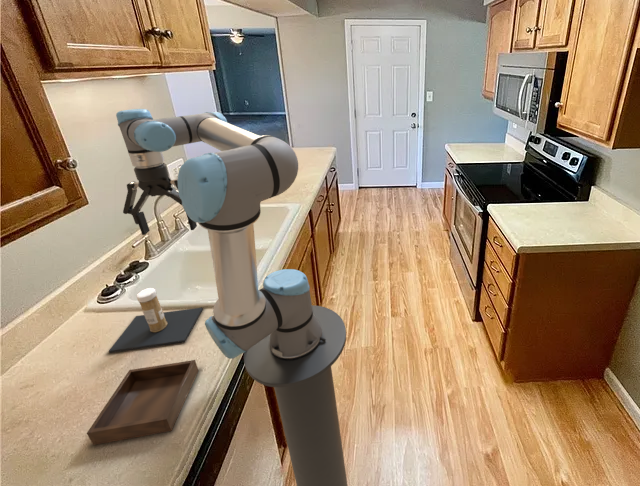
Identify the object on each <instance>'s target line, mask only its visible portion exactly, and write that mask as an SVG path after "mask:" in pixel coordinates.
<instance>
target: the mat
mask: <svg viewBox="0 0 640 486" xmlns="http://www.w3.org/2000/svg"><path fill="white" fill-rule="evenodd" d="M203 310H204V308H203V307H196V308H195V307H193V308H187V309H179V310H172V311H171V310H170V311H165V312H164V311H163V313H164V317H165V319H166V321H167V326H166V327H165V328H164V329H163V330H161V331H159V332H151V331H150V327H149V325H148V323H147V321H146V318H145V316H144V314H141V315H136V316H135V317H134V318H133V320H132V321H131V322H130V323H129V324H128V326H127V327H126V328H125V330H123V332H122V334H121V335H120V336H119V337H118V338H117V339H116V341H115V342H114V344H113V345H112V346H111V347H110V348H109V349H108V352H109V353H108V354H112V353H119V352H126V351H133V350H140V349H146V348H154V347H161V346H168V345H175V344H181V343H186V341H187V339H188V337H189V336H190V334H191V332H192V331H193V329H194V327H195V325H196V323H197V321H198V319H199V317H200V315H201V314H202V312H203Z"/></svg>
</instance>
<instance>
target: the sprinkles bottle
mask: <svg viewBox="0 0 640 486" xmlns="http://www.w3.org/2000/svg"><path fill="white" fill-rule="evenodd" d="M136 299H137V302H138V303H139V305H140V307H141V311H142V314H143V315H144V316H145V318H146V321H147V323H148V325H149V327H150V331H151V332H159V331H161V330H163V329H164V328H165V327H166V326H167V321H166V319H165V317H164V311H163V308H162V306H161V303H160V301H159V298H158V296H157V291H156V289H155V288H154V287H147V288H145V289H142V290H140V291H139V292H138V293H137V294H136Z"/></svg>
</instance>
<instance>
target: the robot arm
mask: <svg viewBox="0 0 640 486" xmlns="http://www.w3.org/2000/svg"><path fill="white" fill-rule="evenodd" d="M115 116H116V119H117V126H118V127H119V130H120V132H121V135H122V138H123V140H124V144H125V147H126V150H127V154H128V156H129V159H130V162H131V165H132V167H134V168H133V171H134V175H135V177H136V180H137V181H138V182H136V181H135V180H132V181H131V182H129V183H127V184H126V190H127V192H126V198H125V202H124V206H123V209H122V213H123V214H124V215H127V214H129V215H130V216H132V218H133V221H134V224H135V225H138V227H139V230H140V232H141V235H142V236H145V235H147V234H148V233H149V232H150V227H149V224H148V222H147V218H146V215H145V212H144V211H142V208H143V206H144V205H145V204H146V202H147V200H148V199H149V197H164V196H166V197H167V198H171V199H172V200H173V201H174V202H176V203H177V204H179V205H181V206H182V208H183V210H184V212H185V214H186V218H187V222H188V225H189V229H190V231H194V230H195V229H196V228H197V227H198V225H199V227H202V228H203V229H205V230H207V235H208V241H209V248H210V253H211V261H212V266H213V267H212V268H213V272H214V278H215V286H216V293H217V297H218V298H217V300H216V301H215V303H214V305H213V309H212V314H213V315H211V316H209V317H208V318H207V319H206V320H205V322H204V326H205V328H206V331H207V332H208V334H209V336H210V337H211V339H212V341H213V342H214V344H215V345H216V347H217V348H218V349H219V351H220V352H221V353H222V355H223V356H225V358H227V359H230V360H232V359H236V358H237V357H239V356H240V355H242V354H244V353H245V352H246V351H247V350H248V349H250V348H251V347H253V346H254V345H255V344H257V343H258V342H260V341H261V340H263V339H264V338H265V337H267V336H268V335H270V334H271V335H270V340H269V344H270V349H271V352H272V354H273V355H274V356H275V357H276V358H278V359H281V360H286V361H290V360H297V359H300V358H303V357H305V356H307V355H309V354H310V353H311V352H313V351H314V350H315V349H316V348H317V347H318V345H319V344H320V342H321V341H324V342H325V340H326V339H324V338H322V328H321V325H320V323H319V322H318V320H317V319H316V317H315V315H314V314H313V310H312V298H311V291H310V288H311V286H310V283H309V280H308V277H307V275H306V274H305V273H304V272H302V271H301V270H298V269H294V268H284V269H279V270H275V271H273V272H271V273H269V274H267V275H266V277H265V278H264V279H263V282H262V288H260V289H259V280H258V279H259V278H258V267H257V266H258V265H257V252H256V250H257V249H256V240H255V239H256V238H255V225H254V224H255V223H256V222H257V221H258V220H259V218H260V216H261V213H262V212H261V202H264V201H266V200H269V199H272V198H274V197H277V196H280V195H282V194H283V193H285V192H286V191H288V189H290V188H291V187H292V186H293V184H294V183H295V181H296V179H297V176H298V173H299V160H298V156H297V154H296V152H295V151H294V149H293V148H292V146H291V145H290V144H288V143H287V142H286V141H284V140H283V139H281V138H278V137H276V136H274V135H268V134H265V135H259V134H256V133H253V132H251V131H248V130H246V129H244V128H241V127H239V126H237V125H234V124H231V123H229V122H228V119H227V118H226V117H225V116H224V114H223V113H221V112H220V111H213V112H212V111H206V112H203V113H196V114H187V115H181V116H171V117H164V118H158V119H154V118H153V116H152V113H151V111H150V110H149V109H147V108H132V109H123V110H119V111H117V112H116V114H115ZM200 142H202V143H204V144H206V145H208V146H211V148H214V149H216V150H218V151H217V152H207V153H204V154H202V155H199V156H196V157H192V158H189V159H187V160H186V161H184V162H183V164H182V165H181V166H180V168H179V170H178V173H177V178H175V179H171V178H170V176H169V175H170V174H169V171H168V167H167V164H166V163H165V161H166V160H165V157H164V153H163V152H167V151H169V150H170V149H172V148H173V147H179V146H184V145H189V144H195V143H200ZM174 187H175V188H174ZM138 189H140V190H142V193H141V195H140V196H139V199H138V200H137V202H136V203H135V200H136V196H137V192H138ZM176 189H177V190H176ZM134 204H135V205H134Z"/></svg>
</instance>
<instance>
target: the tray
mask: <svg viewBox="0 0 640 486" xmlns="http://www.w3.org/2000/svg"><path fill="white" fill-rule="evenodd" d="M198 373H199V367H198V364H197V362H196V359H193V360H185V361H179V362H173V363H172V362H171V363H167V364H159V365H153V366H146V367H140V368H133V369H129V370H128V371H127V373H126V375H124V377H123V379H122V380H121V381H120V383H119V385H118V386H117V387H116V389H115V391H114V392H113V394H112V395H111V396H110V398H109V399H108V401H106V404H105V405H104V407H103V408H102V410H101V411H100V413H99V414H98V416H97V417H96V419H95V420H94V421H93V423H92V424H91V426H90V428H89V429H88V430H87V432H86V435H87V437H88V438H89V440H90V442H91V443H92V446H95V445H96V446H97V445H100V444H107V443H111V442H112V443H113V442H119V441H124V440H129V439H134V438H139V437H145V436H150V435H156V434H161V433H167V432H172V431H173V429H174V426H175V424H176V422H177V419H178V418H179V415H180V413H181V411H182V408H183V406H184V404H185V402H186V400H187V398H188V395H189V394H190V391H191V388H192V387H193V384H194V383H195V379H196V377H197V376H198Z"/></svg>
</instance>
